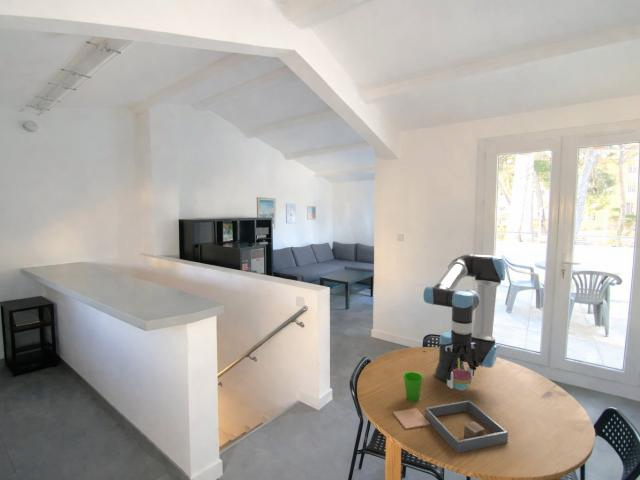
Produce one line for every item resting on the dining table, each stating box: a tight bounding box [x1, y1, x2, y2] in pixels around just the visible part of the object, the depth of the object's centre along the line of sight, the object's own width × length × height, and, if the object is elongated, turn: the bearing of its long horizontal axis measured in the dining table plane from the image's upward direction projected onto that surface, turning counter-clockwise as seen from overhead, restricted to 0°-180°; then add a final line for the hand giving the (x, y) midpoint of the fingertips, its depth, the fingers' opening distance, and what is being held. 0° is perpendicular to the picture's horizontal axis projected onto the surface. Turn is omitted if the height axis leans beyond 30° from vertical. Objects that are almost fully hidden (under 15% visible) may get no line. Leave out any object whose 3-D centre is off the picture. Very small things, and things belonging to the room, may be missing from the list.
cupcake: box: [452, 357, 473, 391], centre depth 137 cm, size 9×8×12 cm
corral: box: [424, 400, 509, 454], centre depth 135 cm, size 22×22×4 cm
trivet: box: [392, 407, 431, 430], centre depth 142 cm, size 11×11×1 cm
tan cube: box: [463, 420, 486, 439], centre depth 130 cm, size 5×5×5 cm
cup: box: [402, 371, 424, 403], centre depth 156 cm, size 9×9×11 cm
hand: (459, 385), depth 137 cm, fingers closed on cupcake, 8 cm apart
